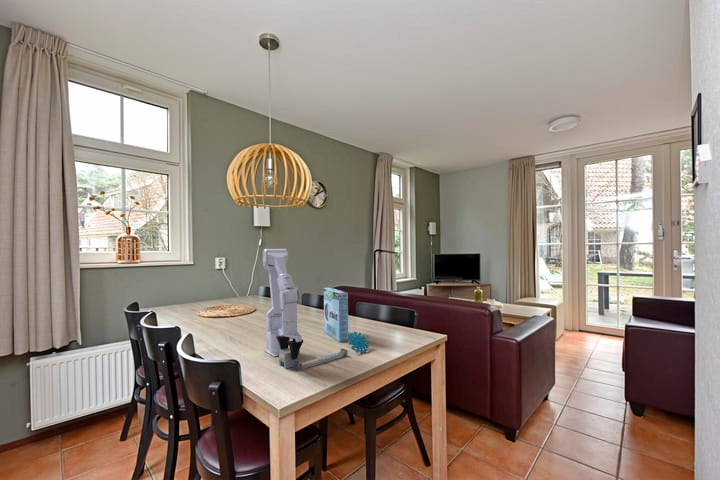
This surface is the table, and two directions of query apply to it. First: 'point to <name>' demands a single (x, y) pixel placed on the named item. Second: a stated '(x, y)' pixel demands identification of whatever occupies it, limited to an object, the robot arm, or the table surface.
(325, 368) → the table surface
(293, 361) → the block
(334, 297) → the gum box
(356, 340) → the gear
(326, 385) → the table surface
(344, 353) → the rail
